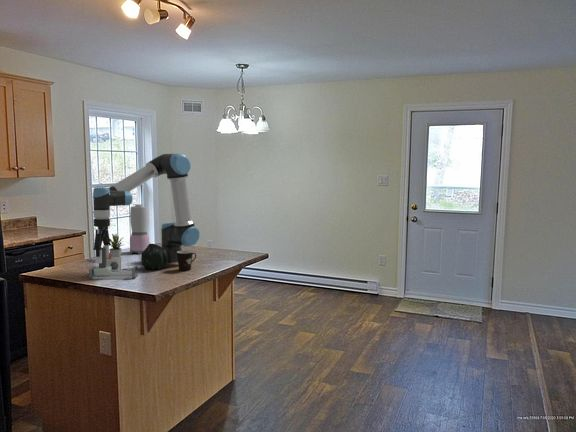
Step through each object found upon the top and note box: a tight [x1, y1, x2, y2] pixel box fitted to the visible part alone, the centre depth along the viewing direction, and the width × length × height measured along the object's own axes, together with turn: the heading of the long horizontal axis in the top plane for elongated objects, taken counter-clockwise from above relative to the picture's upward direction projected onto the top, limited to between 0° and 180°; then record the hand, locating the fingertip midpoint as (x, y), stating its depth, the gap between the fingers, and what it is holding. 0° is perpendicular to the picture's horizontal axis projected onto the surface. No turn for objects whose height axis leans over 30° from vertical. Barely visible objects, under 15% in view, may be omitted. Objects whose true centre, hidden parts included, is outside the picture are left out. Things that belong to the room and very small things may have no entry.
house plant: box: [109, 233, 123, 257], centre depth 270 cm, size 14×14×16 cm
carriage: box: [94, 246, 112, 275], centre depth 221 cm, size 7×6×13 cm
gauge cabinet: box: [106, 256, 122, 271], centre depth 232 cm, size 9×6×8 cm
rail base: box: [88, 265, 139, 280], centre depth 223 cm, size 22×7×5 cm, turn 98°
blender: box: [129, 203, 150, 255], centre depth 292 cm, size 16×12×32 cm
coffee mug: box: [177, 250, 197, 272], centre depth 244 cm, size 12×9×10 cm
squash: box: [140, 243, 169, 271], centre depth 246 cm, size 14×15×15 cm
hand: (102, 260), depth 221 cm, fingers open, 13 cm apart
